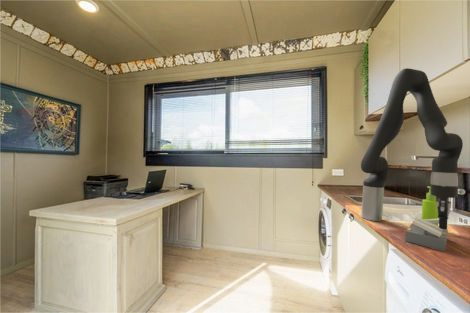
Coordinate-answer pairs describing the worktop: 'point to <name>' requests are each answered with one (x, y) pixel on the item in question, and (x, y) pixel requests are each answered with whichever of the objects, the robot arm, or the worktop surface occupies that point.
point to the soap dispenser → (429, 207)
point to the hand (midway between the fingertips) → (443, 228)
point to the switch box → (426, 238)
